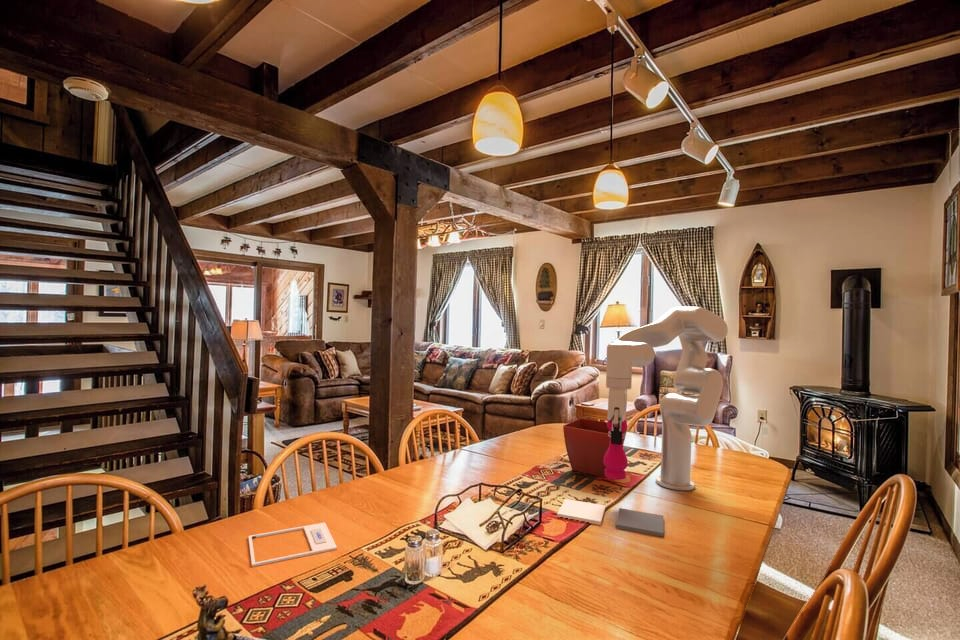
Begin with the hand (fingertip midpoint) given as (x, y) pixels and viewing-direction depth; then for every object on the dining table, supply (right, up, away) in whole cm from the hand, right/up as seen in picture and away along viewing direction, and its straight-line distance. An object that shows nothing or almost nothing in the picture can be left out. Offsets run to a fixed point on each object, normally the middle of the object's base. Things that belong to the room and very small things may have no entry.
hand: (617, 440), depth 143 cm
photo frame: (-87, -17, -32) cm, 95 cm away
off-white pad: (-13, -19, -9) cm, 24 cm away
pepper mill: (-1, -11, 0) cm, 11 cm away
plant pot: (0, -19, +31) cm, 37 cm away
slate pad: (+2, -19, -14) cm, 24 cm away
